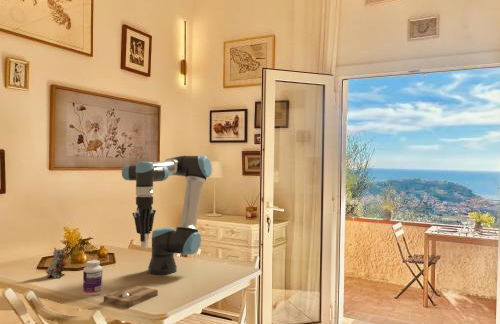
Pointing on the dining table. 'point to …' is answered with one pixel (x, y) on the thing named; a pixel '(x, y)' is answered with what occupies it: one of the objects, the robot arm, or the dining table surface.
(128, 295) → the ball
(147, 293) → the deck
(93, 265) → the pill bottle
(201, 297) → the dining table surface
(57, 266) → the figurine
